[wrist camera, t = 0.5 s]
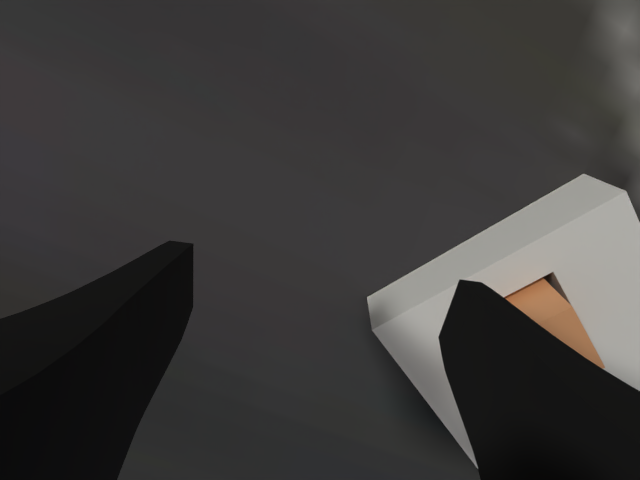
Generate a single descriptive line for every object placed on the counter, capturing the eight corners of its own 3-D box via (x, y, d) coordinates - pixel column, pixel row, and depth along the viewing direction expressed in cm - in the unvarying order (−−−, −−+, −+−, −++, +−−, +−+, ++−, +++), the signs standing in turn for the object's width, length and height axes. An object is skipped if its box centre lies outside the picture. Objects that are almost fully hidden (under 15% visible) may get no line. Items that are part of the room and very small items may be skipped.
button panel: (714, 456, 26) (760, 503, 23) (534, 523, 29) (556, 571, 26) (583, 173, 19) (626, 191, 16) (366, 297, 22) (371, 330, 19)
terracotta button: (567, 326, 20) (605, 367, 17) (499, 359, 21) (525, 403, 18) (537, 272, 19) (572, 306, 16) (467, 309, 20) (489, 348, 17)
